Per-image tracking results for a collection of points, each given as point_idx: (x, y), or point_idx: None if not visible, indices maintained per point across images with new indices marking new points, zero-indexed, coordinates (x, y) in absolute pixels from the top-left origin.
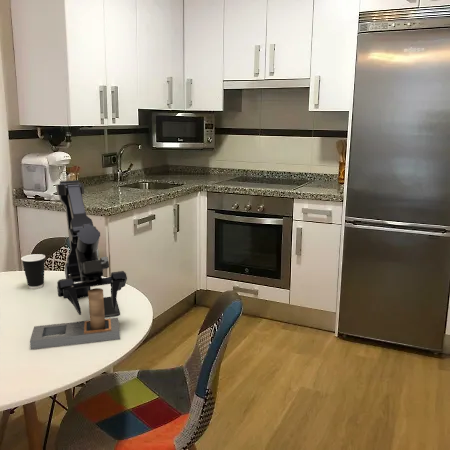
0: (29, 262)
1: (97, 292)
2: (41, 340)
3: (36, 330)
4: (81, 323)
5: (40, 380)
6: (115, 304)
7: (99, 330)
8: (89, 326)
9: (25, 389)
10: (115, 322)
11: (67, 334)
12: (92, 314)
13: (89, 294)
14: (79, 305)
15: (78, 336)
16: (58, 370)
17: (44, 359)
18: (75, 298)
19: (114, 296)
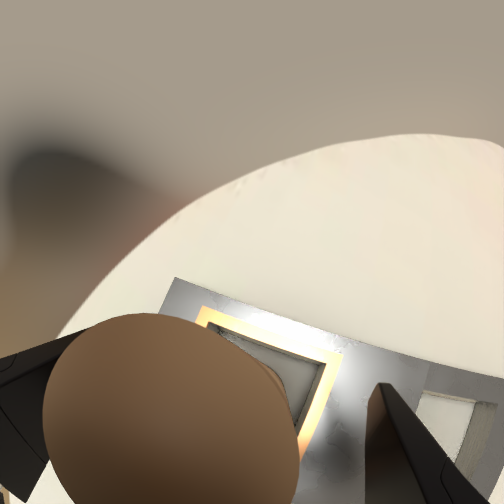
0: None
1: (147, 356)
2: (500, 378)
3: (491, 475)
4: (307, 482)
5: (479, 180)
6: (82, 330)
7: (261, 328)
8: None
9: (497, 168)
10: None
11: (415, 384)
12: (278, 379)
13: (293, 424)
14: (397, 426)
15: (372, 346)
16: (446, 197)
17: (482, 288)
18: (443, 487)
19: (34, 356)
